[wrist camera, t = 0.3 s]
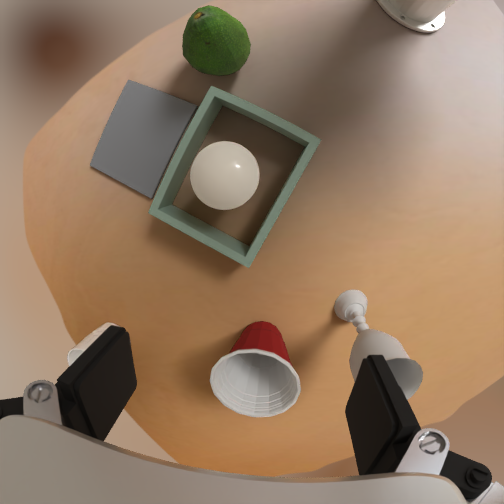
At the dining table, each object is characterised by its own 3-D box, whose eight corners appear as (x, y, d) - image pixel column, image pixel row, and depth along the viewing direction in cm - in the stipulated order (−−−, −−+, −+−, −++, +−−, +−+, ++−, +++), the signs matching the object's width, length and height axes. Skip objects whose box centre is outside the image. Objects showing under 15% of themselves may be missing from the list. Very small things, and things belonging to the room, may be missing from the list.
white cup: (128, 321, 44) (99, 353, 34) (138, 359, 46) (114, 394, 36) (92, 316, 45) (61, 344, 35) (103, 353, 47) (76, 384, 37)
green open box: (219, 96, 34) (211, 85, 29) (315, 144, 34) (321, 139, 30) (163, 207, 38) (148, 212, 34) (252, 256, 39) (248, 268, 34)
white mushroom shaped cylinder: (224, 139, 35) (209, 129, 27) (272, 164, 36) (271, 160, 27) (200, 186, 37) (179, 190, 29) (246, 211, 38) (238, 222, 29)
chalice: (320, 320, 41) (341, 407, 23) (336, 278, 39) (373, 352, 22) (363, 329, 41) (401, 412, 23) (381, 290, 39) (435, 362, 21)
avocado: (241, 29, 31) (227, -18, 19) (261, 72, 32) (254, 32, 21) (188, 49, 32) (156, 11, 20) (205, 93, 34) (175, 63, 22)
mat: (130, 80, 34) (128, 79, 33) (197, 106, 34) (196, 105, 34) (91, 165, 37) (89, 165, 37) (152, 198, 38) (151, 198, 38)
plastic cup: (241, 293, 41) (227, 338, 29) (309, 321, 41) (318, 372, 29) (215, 349, 44) (197, 400, 32) (277, 373, 44) (275, 427, 32)
